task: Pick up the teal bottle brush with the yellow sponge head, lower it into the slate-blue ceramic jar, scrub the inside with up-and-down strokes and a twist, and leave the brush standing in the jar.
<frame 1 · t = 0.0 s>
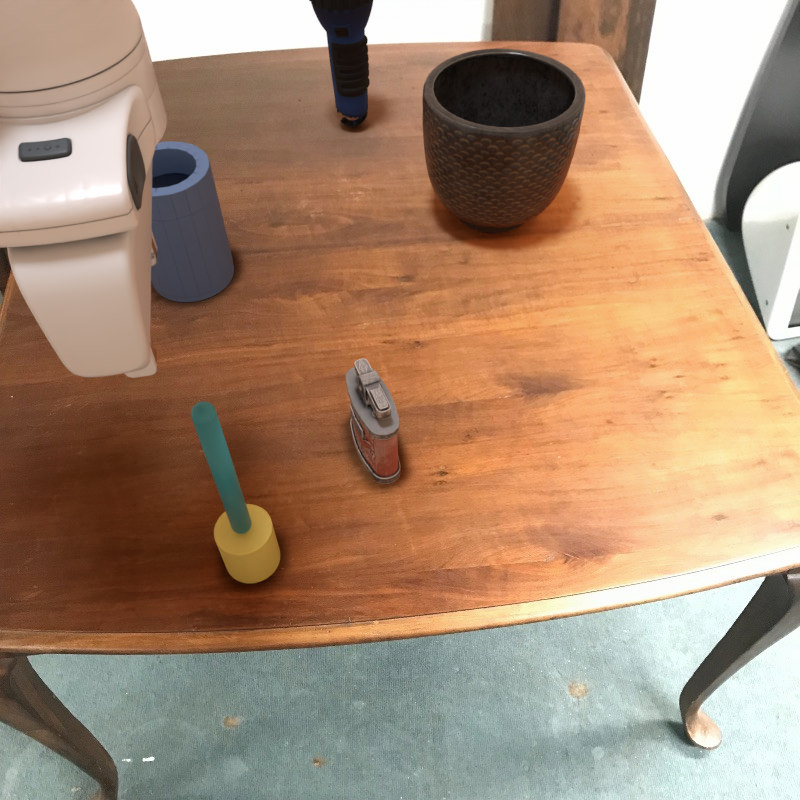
hand: (143, 311, 47), 26 cm above the table, tool pointing down, fingers open, 8 cm apart
planter: (491, 212, 94), on the table
brush: (253, 558, 65), on the table
lighter: (375, 450, 72), on the table
flashlight: (350, 127, 106), on the table
jar: (193, 274, 87), on the table
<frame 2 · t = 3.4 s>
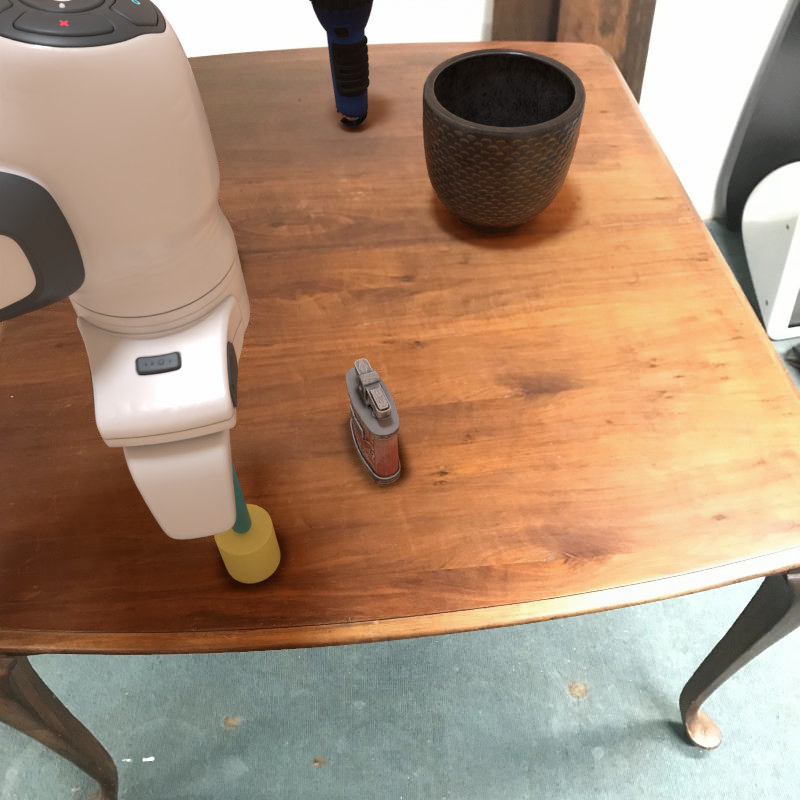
hand: (214, 447, 53), 16 cm above the table, tool pointing down, fingers closed on brush
brush: (253, 558, 65), on the table, touching gripper
everything else where it was.
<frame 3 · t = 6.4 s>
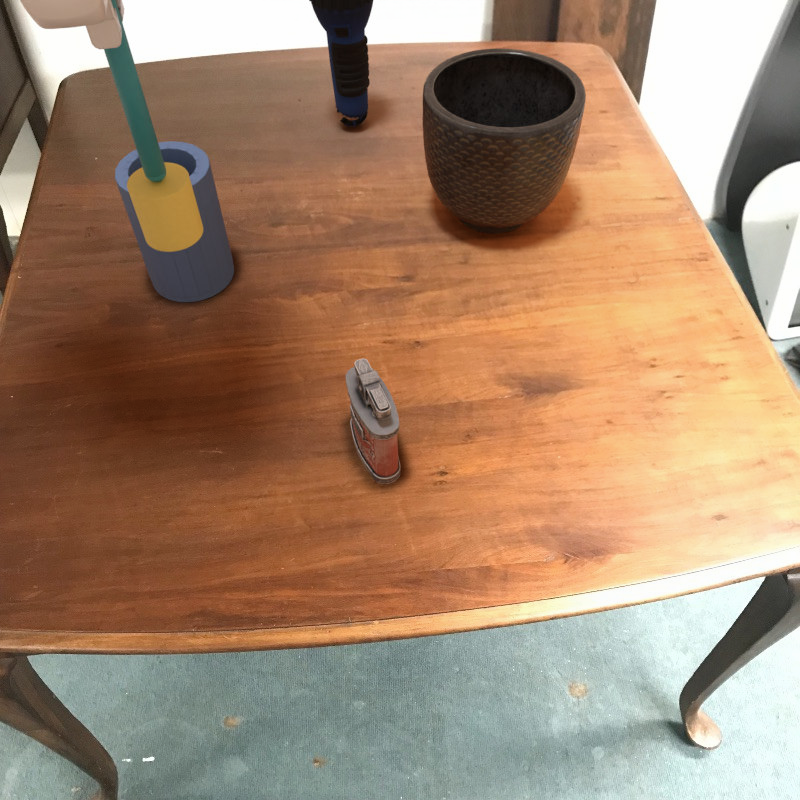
hand: (110, 32, 49), 35 cm above the table, tool pointing down, fingers closed on brush
brush: (174, 233, 62), point 19 cm above the table, touching gripper
everything else where it was.
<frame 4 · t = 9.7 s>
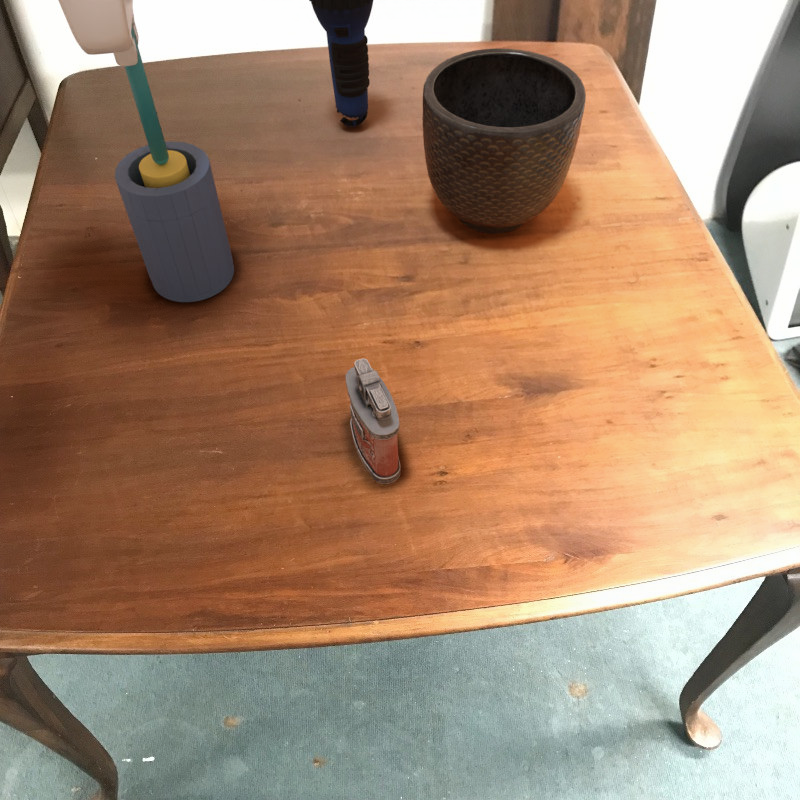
hand: (129, 53, 68), 26 cm above the table, tool pointing down, fingers closed on brush
brush: (174, 205, 80), point 9 cm above the table, touching gripper
everything else where it was.
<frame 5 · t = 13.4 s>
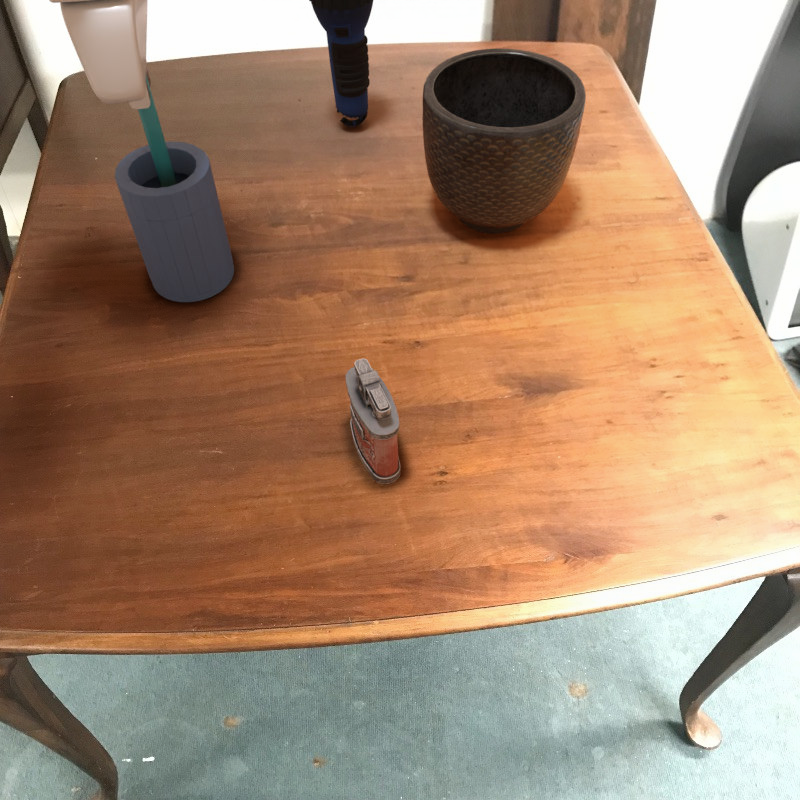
hand: (141, 96, 71), 22 cm above the table, tool pointing down, fingers closed on brush
brush: (184, 235, 83), point 5 cm above the table, touching gripper
everything else where it was.
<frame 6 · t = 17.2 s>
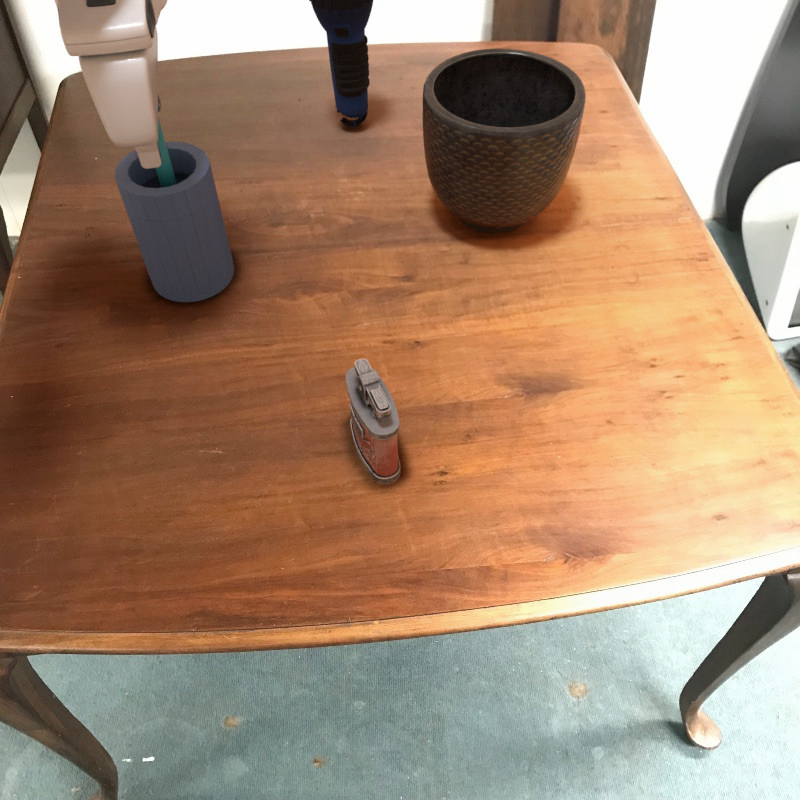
hand: (152, 135, 74), 18 cm above the table, tool pointing down, fingers open, 8 cm apart
brush: (193, 268, 87), point 1 cm above the table, touching jar
everything else where it was.
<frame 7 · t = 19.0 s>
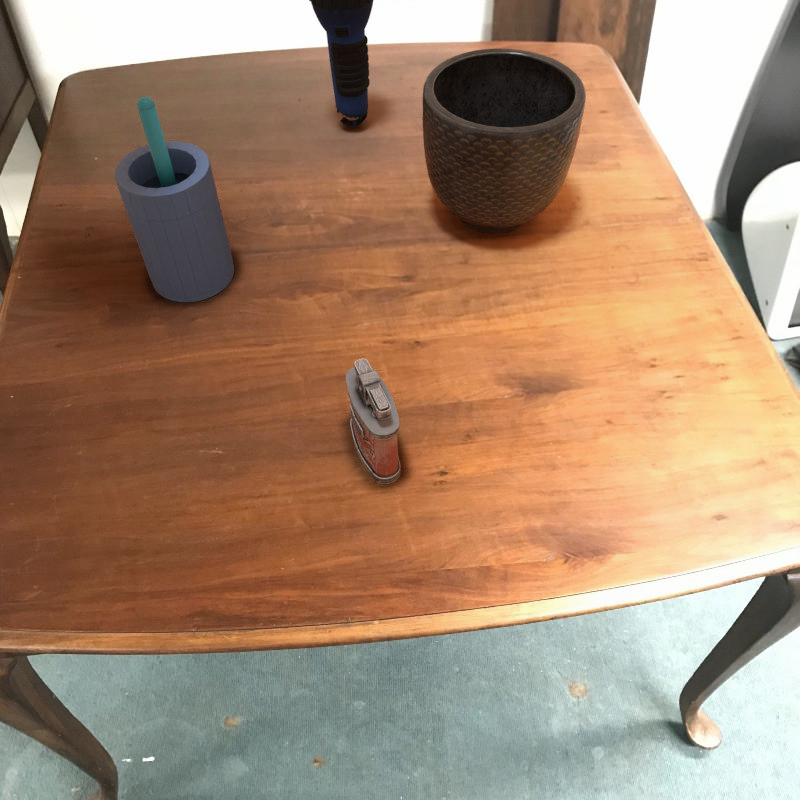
nothing on the table moved.
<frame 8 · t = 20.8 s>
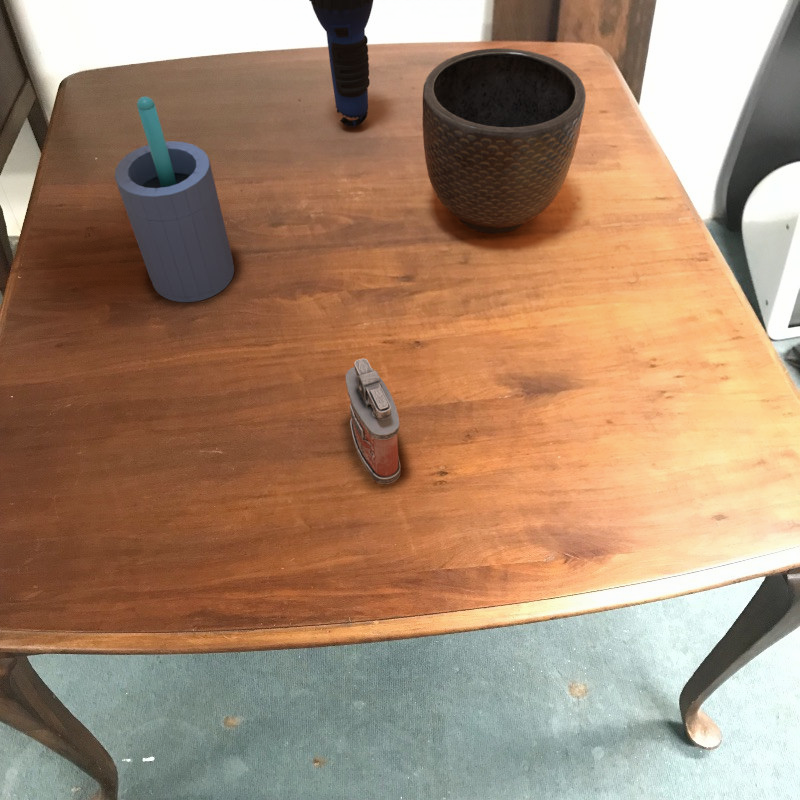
nothing on the table moved.
at the end: brush 0.2 cm off-centre in the jar, point 0.8 cm above the jar's base; the gripper is holding nothing; brush moved 37.2 cm from its start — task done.
